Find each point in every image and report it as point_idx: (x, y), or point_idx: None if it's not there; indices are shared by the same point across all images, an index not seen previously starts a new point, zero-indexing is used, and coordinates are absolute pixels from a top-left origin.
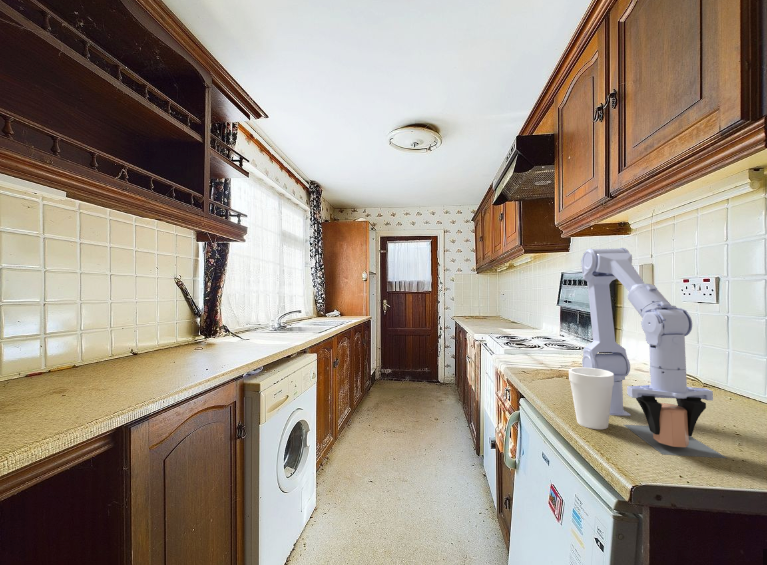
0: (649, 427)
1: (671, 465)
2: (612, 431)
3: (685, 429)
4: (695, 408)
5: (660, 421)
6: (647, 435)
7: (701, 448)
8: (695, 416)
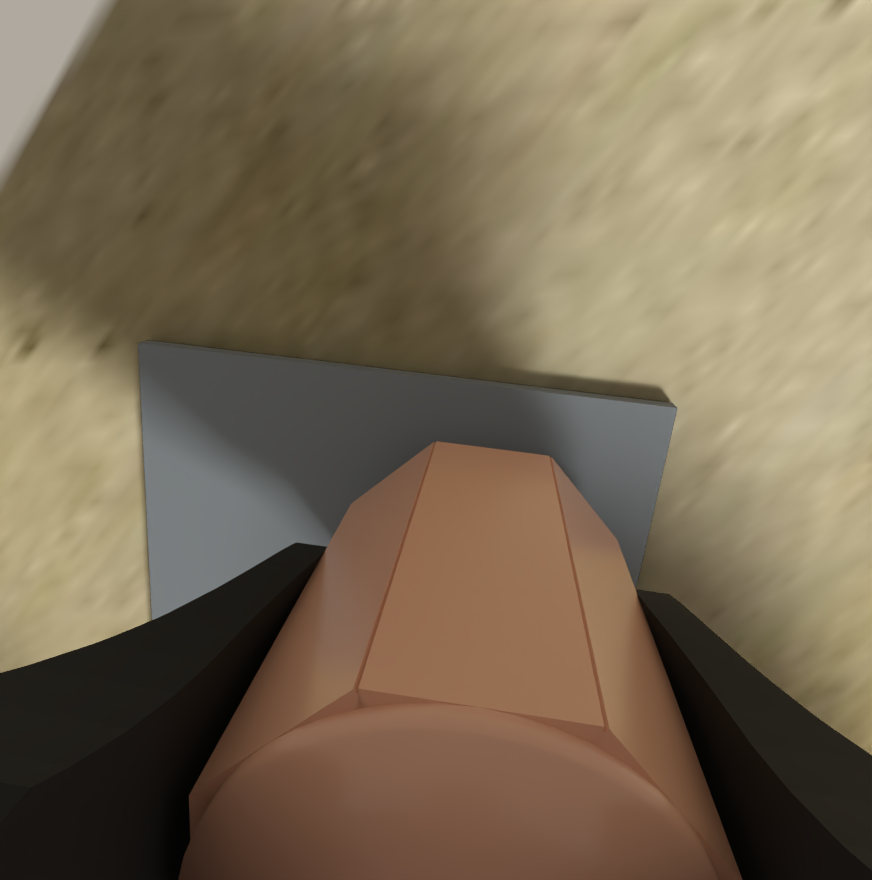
0: None
1: (742, 219)
2: None
3: (384, 537)
4: (48, 741)
5: (666, 688)
6: None
7: (227, 519)
8: (141, 654)
